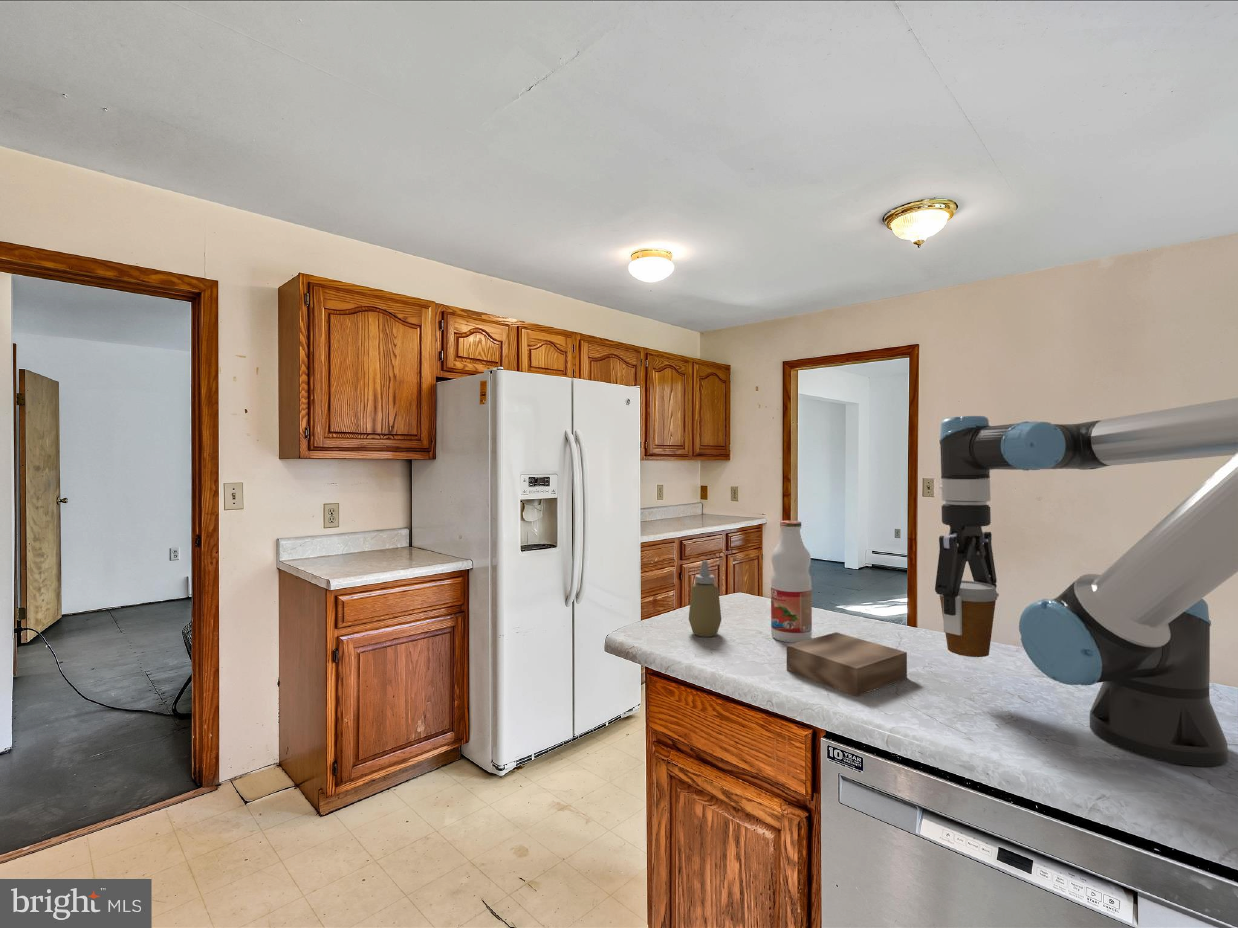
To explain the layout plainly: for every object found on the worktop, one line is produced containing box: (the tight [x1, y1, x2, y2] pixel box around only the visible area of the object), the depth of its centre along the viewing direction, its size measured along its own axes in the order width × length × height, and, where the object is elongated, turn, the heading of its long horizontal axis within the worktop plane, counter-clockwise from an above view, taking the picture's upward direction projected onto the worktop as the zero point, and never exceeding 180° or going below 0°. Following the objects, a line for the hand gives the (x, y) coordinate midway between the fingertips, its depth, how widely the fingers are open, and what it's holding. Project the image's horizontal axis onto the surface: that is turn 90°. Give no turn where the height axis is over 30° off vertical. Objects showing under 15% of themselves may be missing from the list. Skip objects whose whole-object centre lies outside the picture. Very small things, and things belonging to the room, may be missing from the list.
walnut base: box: [786, 632, 908, 697], centre depth 115 cm, size 16×16×5 cm
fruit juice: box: [770, 520, 813, 644], centre depth 139 cm, size 9×9×28 cm
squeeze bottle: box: [688, 560, 722, 638], centre depth 142 cm, size 8×8×18 cm
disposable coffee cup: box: [938, 579, 1000, 658], centre depth 103 cm, size 10×10×12 cm
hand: (967, 628), depth 103 cm, fingers closed on disposable coffee cup, 9 cm apart
